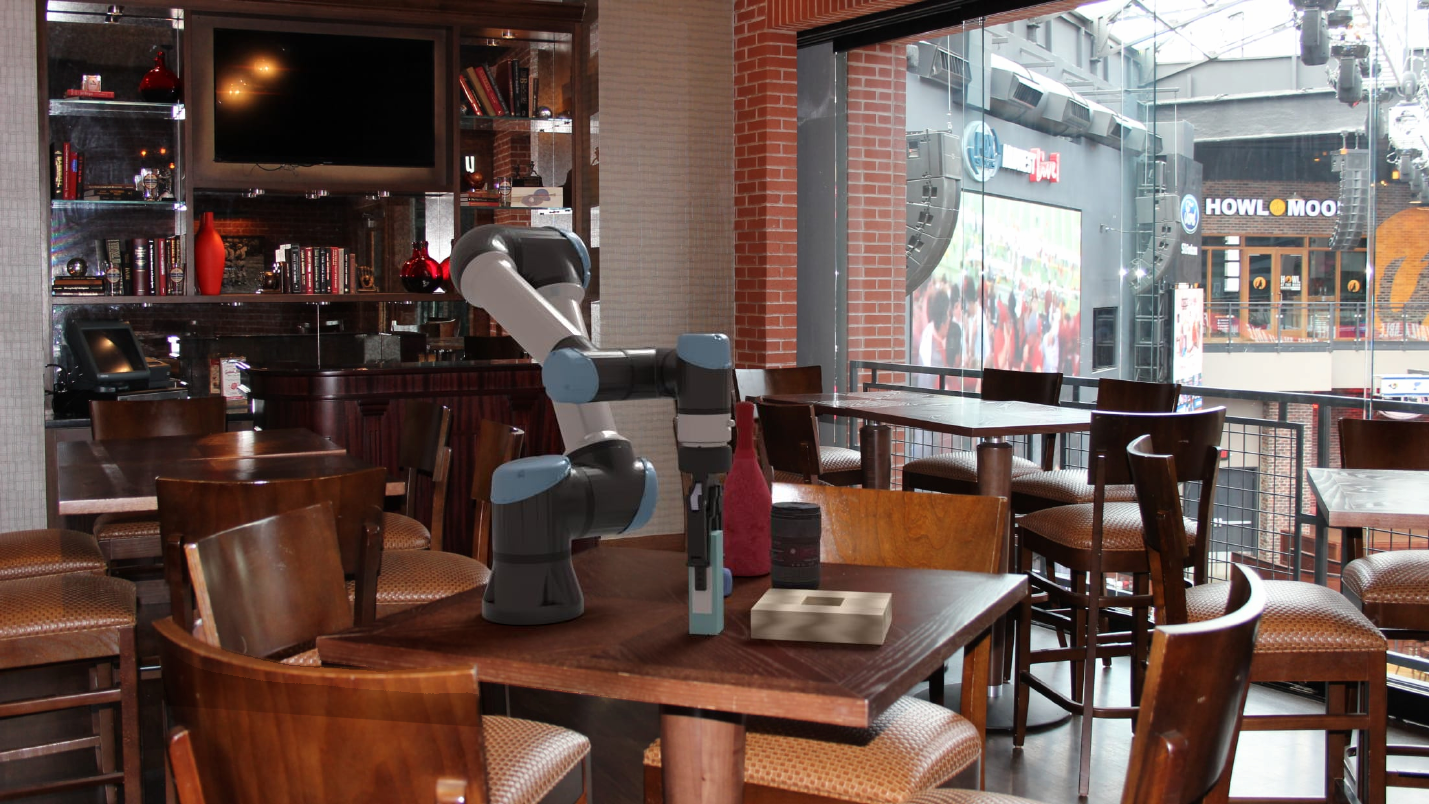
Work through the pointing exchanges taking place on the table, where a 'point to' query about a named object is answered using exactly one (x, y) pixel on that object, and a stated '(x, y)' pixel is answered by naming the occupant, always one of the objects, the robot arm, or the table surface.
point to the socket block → (822, 616)
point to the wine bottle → (746, 505)
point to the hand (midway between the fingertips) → (706, 608)
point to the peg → (714, 621)
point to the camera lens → (795, 545)
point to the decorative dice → (727, 582)
